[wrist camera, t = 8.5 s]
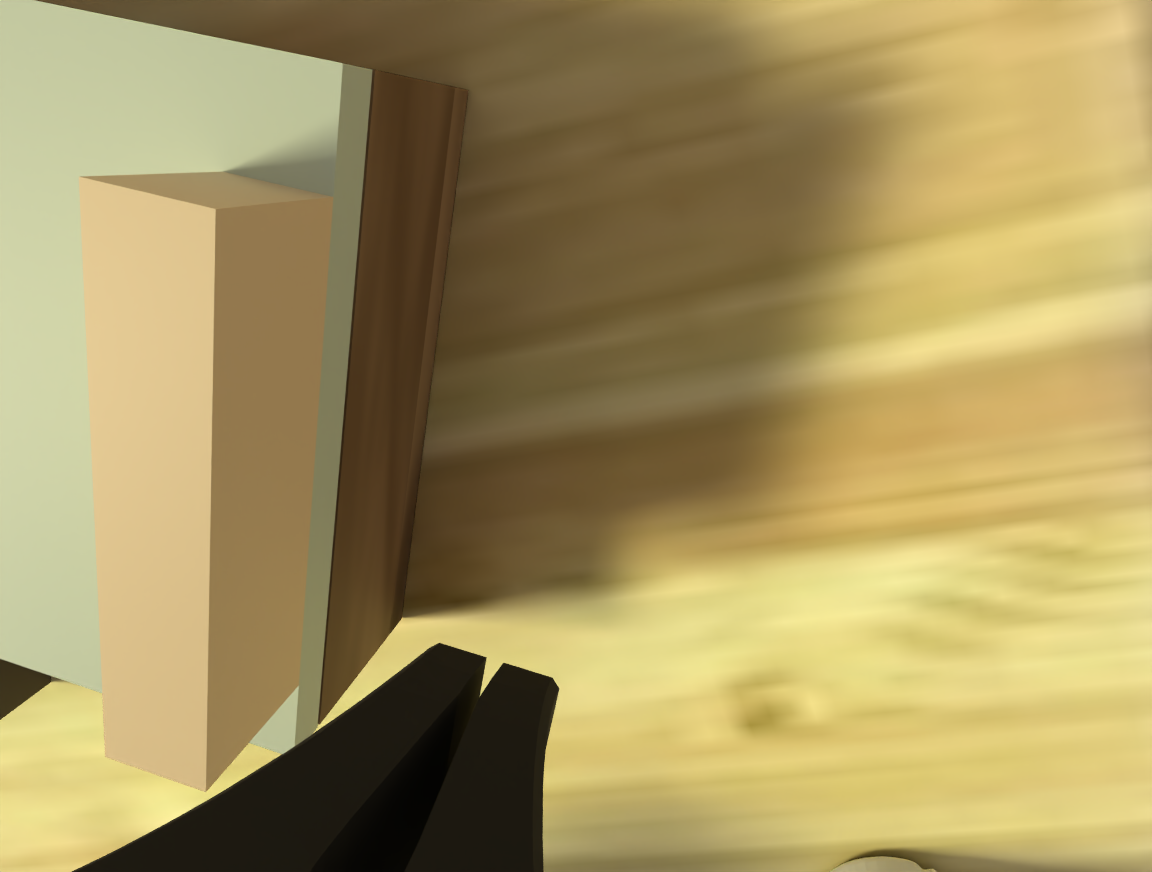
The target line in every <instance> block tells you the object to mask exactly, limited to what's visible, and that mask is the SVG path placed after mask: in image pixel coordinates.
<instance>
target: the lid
mask: <svg viewBox="0 0 1152 872" xmlns="http://www.w3.org/2000/svg"><path fill="white" fill-rule="evenodd" d="M371 82H372V69H367V68H363V67H358V66H353V65H349V64H344V63H339V62H334V61H329V60H324V59H320V58H315V57H310V56H305V55H300V54H295V53H290V52H285V51H280V50H275V49H271V48H266V47H261V46H256V45H251V44H246V43H241V42H236V41H231V40H226V39H222V38H217V37H212V36H207V35H202V34H197V33H192V32H187V31H182V30H177V29H173V28H168V27H163V26H158V25H153V24H148V23H143V22H138V21H133V20H128V19H124V18H119V17H114V16H109V15H104V14H99V13H94V12H89V11H84V10H79V9H75V8H70V7H65V6H60V5H55V4H50V3H45V2H40V1H35V0H0V659H2V660H5V661H8V662H11V663H14V664H17V665H20V666H23V667H26V668H29V669H32V670H35V671H38V672H41V673H44V674H47V675H50V676H53V677H56V678H59V679H62V680H65V681H68V682H71V683H73V684H76V685H79V686H82V687H85V688H88V689H91V690H94V691H97V692H100V693H102V696H103V718H104V740H105V757H107V758H110V759H113V760H116V761H118V762H121V763H124V764H127V765H130V766H133V767H136V768H138V769H141V770H144V771H147V772H150V773H153V774H156V775H158V776H161V777H164V778H167V779H170V780H173V781H176V782H178V783H181V784H184V785H187V786H190V787H193V788H196V789H198V790H201V791H204V792H206V791H207V790H208V789H209V788H210V787H211V786H212V784H213V783H214V782H215V781H216V780H217V779H218V778H219V776H220V775H221V774H222V773H223V772H224V771H225V770H226V768H227V767H228V766H229V765H230V764H231V763H232V762H233V760H234V759H235V758H236V757H237V756H238V755H239V753H240V752H241V751H242V750H243V749H244V748H245V747H246V745H247V744H248V743H251V744H254V745H257V746H260V747H263V748H266V749H269V750H272V751H275V752H278V753H281V754H284V753H285V752H287V751H288V750H290V749H291V748H293V747H294V746H296V745H297V744H299V743H300V742H302V741H303V740H305V739H306V738H308V737H309V736H311V735H312V734H313V732H314V731H315V730H316V728H317V726H318V714H319V702H320V690H321V678H322V666H323V654H324V643H325V631H326V619H327V607H328V595H329V583H330V571H331V559H332V547H333V535H334V523H335V511H336V499H337V488H338V476H339V464H340V452H341V440H342V428H343V416H344V404H345V392H346V380H347V368H348V356H349V344H350V333H351V321H352V309H353V297H354V285H355V273H356V261H357V249H358V237H359V225H360V213H361V201H362V189H363V178H364V166H365V154H366V142H367V130H368V118H369V106H370V94H371Z"/></svg>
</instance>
